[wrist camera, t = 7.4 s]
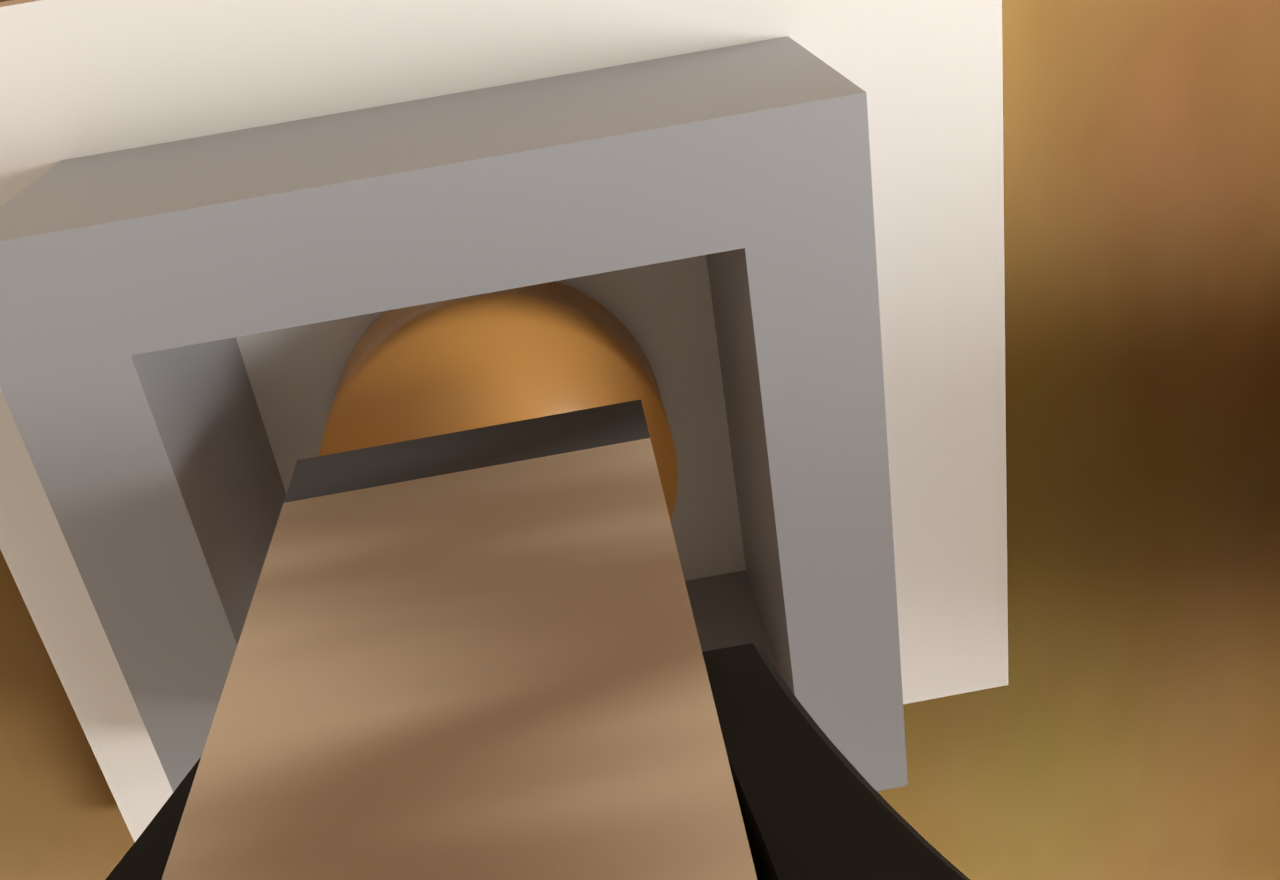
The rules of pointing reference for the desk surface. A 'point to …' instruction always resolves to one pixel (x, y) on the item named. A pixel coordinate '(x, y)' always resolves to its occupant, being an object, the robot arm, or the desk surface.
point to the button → (493, 371)
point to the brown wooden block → (470, 674)
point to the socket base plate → (494, 261)
